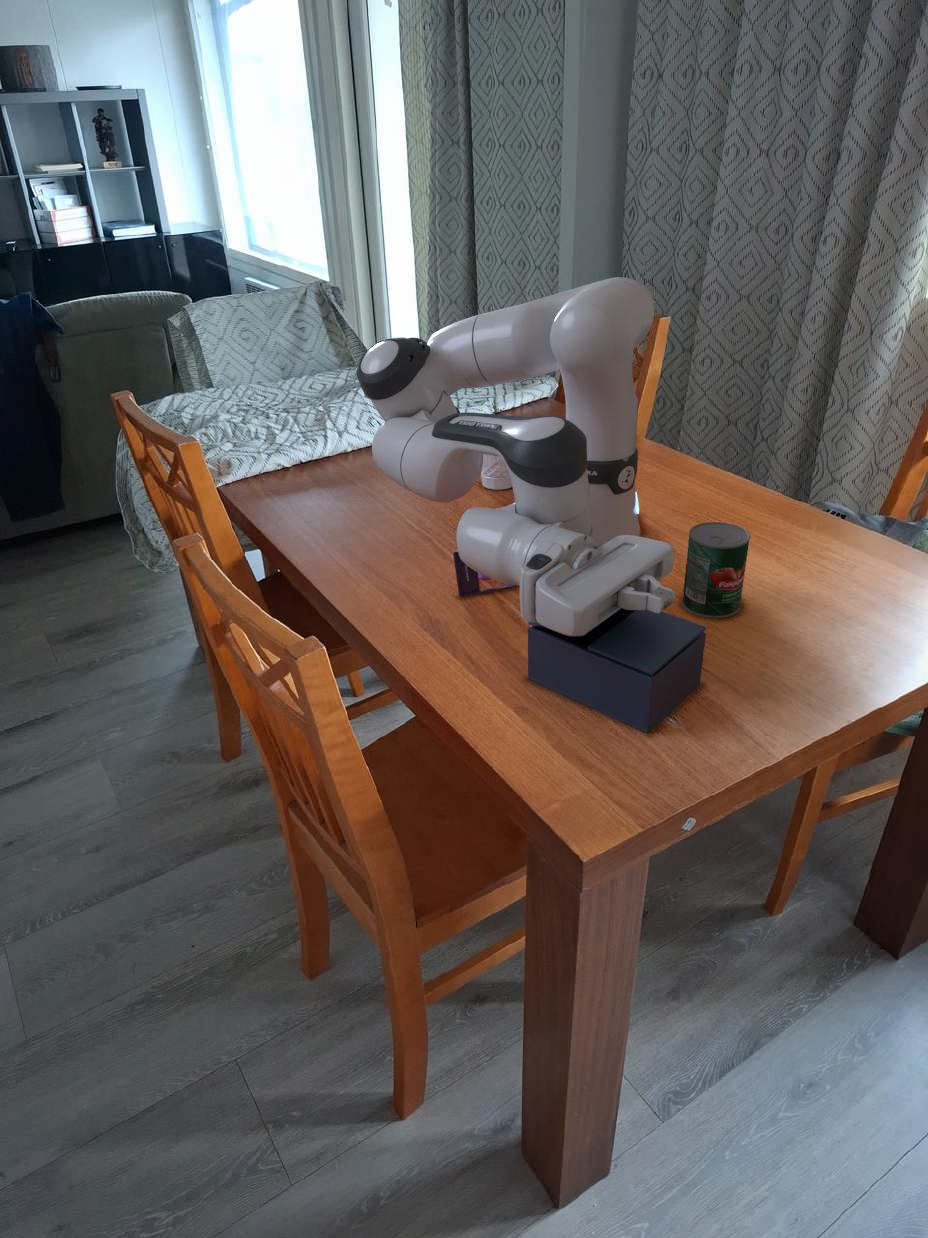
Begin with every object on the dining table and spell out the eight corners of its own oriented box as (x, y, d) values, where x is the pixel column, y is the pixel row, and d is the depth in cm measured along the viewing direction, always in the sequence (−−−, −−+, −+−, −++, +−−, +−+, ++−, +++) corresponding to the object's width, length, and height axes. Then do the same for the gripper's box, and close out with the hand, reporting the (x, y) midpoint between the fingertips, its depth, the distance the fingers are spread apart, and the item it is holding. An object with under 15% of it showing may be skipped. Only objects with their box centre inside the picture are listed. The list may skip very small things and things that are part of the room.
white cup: (526, 480, 160) (526, 429, 155) (506, 494, 154) (505, 442, 149) (492, 473, 164) (490, 424, 159) (470, 487, 158) (468, 436, 153)
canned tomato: (691, 586, 121) (699, 517, 115) (746, 598, 117) (756, 527, 112) (674, 611, 115) (681, 539, 109) (731, 624, 111) (741, 550, 106)
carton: (527, 679, 102) (527, 622, 98) (584, 638, 110) (585, 584, 106) (647, 734, 92) (652, 672, 88) (700, 685, 100) (707, 626, 96)
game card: (454, 552, 119) (513, 542, 121) (446, 549, 124) (503, 539, 126) (460, 597, 120) (519, 587, 122) (452, 592, 125) (509, 583, 127)
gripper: (612, 559, 107) (710, 591, 98) (512, 624, 94) (615, 666, 86) (615, 514, 103) (716, 543, 95) (511, 575, 91) (618, 614, 83)
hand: (668, 602), depth 90 cm, fingers closed
